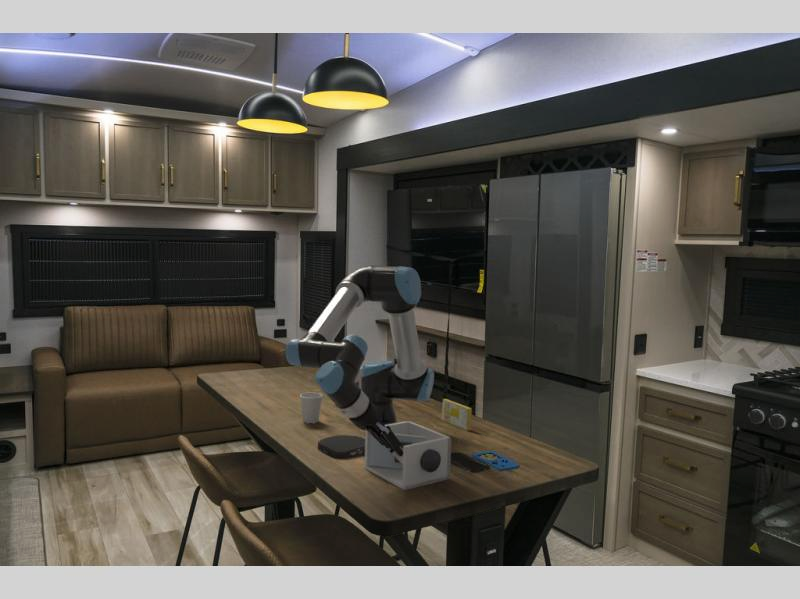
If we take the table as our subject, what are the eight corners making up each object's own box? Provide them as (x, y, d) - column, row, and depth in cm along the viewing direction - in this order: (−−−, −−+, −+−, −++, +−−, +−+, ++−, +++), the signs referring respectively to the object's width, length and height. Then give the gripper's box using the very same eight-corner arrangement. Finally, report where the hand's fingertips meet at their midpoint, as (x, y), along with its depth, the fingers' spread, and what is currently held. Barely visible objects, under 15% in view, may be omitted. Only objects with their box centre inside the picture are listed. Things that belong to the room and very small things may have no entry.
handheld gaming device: (500, 468, 188) (471, 453, 201) (500, 472, 188) (470, 456, 201) (522, 464, 192) (492, 449, 205) (521, 468, 192) (492, 453, 205)
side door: (423, 472, 181) (424, 438, 180) (368, 466, 185) (369, 432, 184) (424, 470, 182) (425, 436, 181) (370, 464, 186) (370, 431, 185)
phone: (458, 451, 202) (491, 465, 190) (458, 455, 202) (491, 469, 190) (439, 456, 197) (471, 470, 185) (439, 459, 197) (471, 474, 185)
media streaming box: (350, 440, 214) (350, 431, 214) (376, 452, 203) (376, 443, 202) (313, 448, 205) (313, 439, 205) (337, 461, 193) (338, 451, 193)
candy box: (471, 430, 228) (472, 408, 227) (466, 431, 227) (467, 408, 226) (445, 419, 242) (446, 398, 241) (441, 420, 241) (441, 398, 240)
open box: (408, 492, 169) (409, 448, 168) (364, 468, 187) (365, 428, 186) (453, 480, 179) (455, 439, 178) (407, 458, 196) (408, 420, 195)
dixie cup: (294, 422, 232) (295, 395, 231) (307, 417, 240) (308, 391, 239) (314, 425, 228) (314, 398, 228) (326, 420, 236) (326, 393, 235)
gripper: (337, 413, 173) (384, 464, 184) (363, 424, 163) (411, 477, 174) (354, 392, 176) (400, 443, 187) (381, 402, 166) (427, 456, 176)
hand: (405, 460), depth 180 cm, fingers closed
